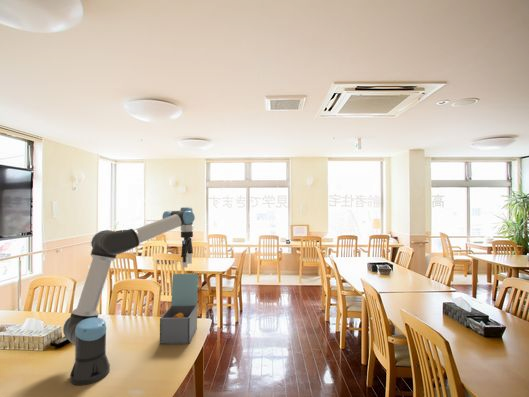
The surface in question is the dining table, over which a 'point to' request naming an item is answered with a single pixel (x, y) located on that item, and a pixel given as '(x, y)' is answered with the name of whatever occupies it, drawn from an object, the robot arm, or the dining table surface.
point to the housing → (178, 325)
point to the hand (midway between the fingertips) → (187, 265)
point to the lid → (184, 289)
